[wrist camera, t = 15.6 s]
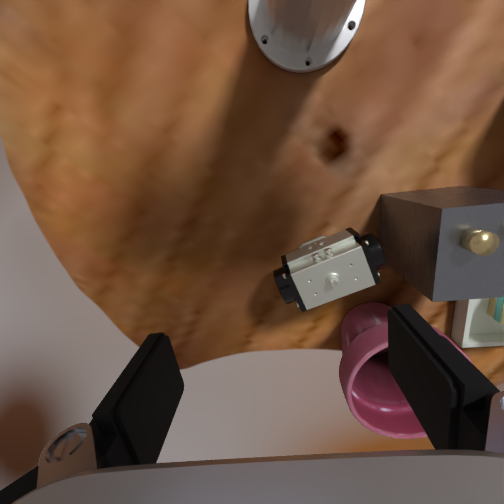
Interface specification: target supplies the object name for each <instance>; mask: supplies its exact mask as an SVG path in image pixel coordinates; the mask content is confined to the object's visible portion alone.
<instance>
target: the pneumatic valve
mask: <svg viewBox="0 0 504 504" xmlns="http://www.w3.org/2000/svg"><path fill="white" fill-rule="evenodd" d="M281 260H282V262H281V264H282V266H283V267H281V268H279V269H276V270H274V271H273V273H274V278H275V281H276V284H277V287H278V289H279V292H280V294H281V296H282V298H283V300H284V301H285V303H286V304H290V303H293V302H295V301H297V302H296V305H297V307H300V309H301V311H302V312H303V311H306V310H309V309H311V308H314V307H317V306H320V305H322V304H325V303H328V302H330V301H333V300H336V299H338V298H341V297H344V296H347V295H349V294H352V293H355V292H357V291H360V290H363V289H365V288H368V287H371V286H374V285H376V284H379V283H381V281H380V278H379V277H380V274H379V272H377V270H379V269H382V268H385V267H386V259H385V255H384V253H383V250H382V248H381V246H380V244H379V242H378V241H377V239H376V238H375V236H374V235H373V234H372V233H371V232H366V233H364V234H361V235H359V233H357V232H356V231H355V230H353V229H352V228H351V227H350V228H348V229H345V230H343V231H340V232H338V233H336V234H333V235H331V236H328V237H325V235H324V236H322V235H321V236H319V237H316V238H314V239H311V240H309V241H307V242H304V243H302V245H301V246H299V249H297V250H295V251H293V252H290V253H288V254H286V255H283V256H281Z"/></svg>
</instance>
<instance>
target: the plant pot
mask: <svg viewBox="0 0 504 504" xmlns="http://www.w3.org/2000/svg"><path fill="white" fill-rule="evenodd" d="M388 310H392V308H391V307H390V306H388V305H385V304H383V303H378V302H369V303H364V304H361V305H358V306H356V307H355V308H353V309H352V310H350V311H349V312H348V313H347V314H346V316H345V317H344V319H343V321H342V325H341V341H342V354H343V356H342V358H341V362H340V366H339V377H340V383H341V386H342V390H343V393H344V395H345V398H346V401H347V403H348V406H349V408H350V410H351V412H352V413H353V415H354V417H355V418H356V419H357V420H358V421H359V422H360V423H361V424H362V425H363V426H365V427H366V428H368V429H369V430H371V431H373V432H375V433H378V434H380V435H383V436H387V437H391V438H399V439H413V438H421V437H427V434H426V432H425V431H424V429H423V427H422V426H421V424H420V422H419V420H418V419H417V417H416V415H415V413H414V412H413V410H412V408H411V407H410V405H409V403H408V401H407V400H406V398H405V396H404V394H403V393H402V391H401V389H400V388H399V386H398V384H397V382H396V381H395V379H394V377H393V375H392V374H391V371H390V369H389V363H388ZM431 327H432V326H431ZM432 328H433V329H434V330H435V331H436V332H437V333H438V334H439V335H441V336H444V337H445V338H447V339H448V340H449V341H450V342H451V343H452V344H453V345H454V346H455V347H456V348H457V349H458V350H459V351H460V352H461V353H462V354H463V355H464V356H465V357H466V358H467V359H468V360H469V361H470V362H471V360H470V359H469V358H468V357H467V355H466V354H465V353H464V352H463V351H462V350H461V349H460V348H459V347H458V346H457V345H456V344H455V343H453V342H452V341H451V340H450V339H449V338H448V337H447V336H446V335H445V334H443V333H442V332H441V331H439V330H438V329H436V328H434V327H432ZM471 363H472V362H471Z"/></svg>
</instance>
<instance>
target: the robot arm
mask: <svg viewBox="0 0 504 504" xmlns="http://www.w3.org/2000/svg"><path fill="white" fill-rule="evenodd" d="M365 1H366V0H248V13H249V21H250V26H251V30H252V33H253V36H254V39H255V41H256V43H257V45H258V47H259V48H260V50H261V51H262V53H263V54H264V55H265V56H266V57H267V58H268V59H269V60H270V61H271V62H272V63H273V64H275V65H276V66H278V67H279V68H281V69H284V70H287V71H290V72H297V73H305V72H312V71H315V70H318V69H321V68H323V67H325V66H326V65H328V64H330V63H331V62H333V61H334V60H335V59H336V58H337V57H339V56H340V55H341V53H342V52H343V51H344V50H345V49H346V48H347V46H348V45H349V43H350V42H351V40H352V39H353V37H354V35H355V33H356V32H357V30H358V28H359V25H360V22H361V19H362V16H363V13H364V7H365ZM348 27H350V28H351V30H349V29H348ZM263 41H266V42H267V44H263ZM306 62H309V64H310V65H309V66H306ZM388 363H389V369H390V371H391V374H392V375H393V377H394V379H395V381H396V382H397V384H398V386H399V388H400V389H401V391H402V393H403V394H404V396H405V398H406V400H407V401H408V403H409V405H410V407H411V408H412V410H413V412H414V413H415V415H416V417H417V419H418V420H419V422H420V424H421V426H422V427H423V429H424V431H425V432H426V434H427V436H428V438H429V439H430V441H431V443H432V445H433V446H434V448H435V450H400V451H377V452H376V451H374V452H354V453H332V454H312V455H294V456H275V457H255V458H238V459H220V460H203V461H187V462H171V463H156V462H157V459H158V457H159V454H160V451H161V449H162V446H163V443H164V441H165V438H166V436H167V433H168V430H169V428H170V425H171V422H172V419H173V417H174V415H175V412H176V409H177V407H178V404H179V401H180V399H181V396H182V394H183V390H184V382H183V379H182V376H181V373H180V370H179V367H178V364H177V361H176V358H175V354H174V351H173V348H172V345H171V342H170V339H169V337H168V336H167V335H165V334H164V333H154V334H149V335H148V336H147V338H146V339H145V341H144V342H143V344H142V345H141V346H140V348H139V349H138V351H137V352H136V353H135V355H134V356H133V358H132V359H131V360H130V362H129V363H128V365H127V366H126V368H125V369H124V370H123V372H122V373H121V375H120V376H119V377H118V379H117V380H116V382H115V383H114V385H113V386H112V387H111V389H110V390H109V391H108V393H107V394H106V396H105V397H104V399H103V400H102V401H101V403H100V404H99V406H98V407H97V409H96V410H95V411H94V413H93V414H92V417H93V419H92V420H91V422H90V423H89V424H87V423H79V424H75V425H73V426H71V427H69V428H66V429H65V430H63V431H62V432H60V433H59V434H58V435H56V436H55V437H54V438H53V439H52V440H51V441H50V442H49V443H48V444H47V446H46V447H45V449H44V450H43V452H42V453H41V456H40V460H39V466H37V467H36V468H34V469H33V470H31V471H30V472H28V473H27V474H25V475H24V476H22V477H20V478H19V479H17V480H16V481H14V482H13V483H12V484H10V485H9V486H7V487H5V488H4V489H3V490H1V491H0V504H504V391H501V392H500V391H499V390H498V389H497V388H496V387H495V386H494V385H493V384H492V383H491V382H490V381H489V380H488V379H487V378H486V377H485V376H484V375H483V374H482V373H481V372H480V371H479V370H478V369H477V368H476V367H475V366H474V365H473V364H472V363H471V362H470V361H469V360H468V359H467V358H466V357H465V356H464V355H463V354H462V353H461V352H460V351H459V350H458V349H457V348H456V347H455V346H454V345H453V344H452V343H451V342H450V341H449V340H448V339H447V338H445V337H444V336H441V335H439V334H438V333H437V332H436V331H435V330H434V329H433V328H432V327H431V326H430V325H429V324H428V323H427V322H426V321H425V320H424V319H423V318H422V317H421V316H420V315H419V314H418V313H417V312H416V311H415V310H414V309H413V308H412V307H411V306H410V305H409V304H403V305H395V306H392V310H388Z"/></svg>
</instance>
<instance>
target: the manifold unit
mask: <svg viewBox="0 0 504 504" xmlns="http://www.w3.org/2000/svg"><path fill="white" fill-rule="evenodd" d="M379 244H380V246H381V248H382V250H383V253H384V255H385V259H386V264H387V265H388V266H389V267H391V268H392V269H393V270H394V271H395V272H397V273H398V274H399V275H400V276H402V277H403V278H404V279H405V280H406V281H408V282H409V283H410V284H411V285H412V286H414V287H415V288H416V289H417V290H419V291H420V292H421V293H422V294H423V295H425V296H426V297H427V298H428V299H430V300H431V301H432V302H437V301H453V300H468V299H484V298H499V297H504V190H497V189H487V188H476V187H465V186H457V187H447V188H437V189H428V190H418V191H408V192H398V193H389V194H381V207H380V234H379Z"/></svg>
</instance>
